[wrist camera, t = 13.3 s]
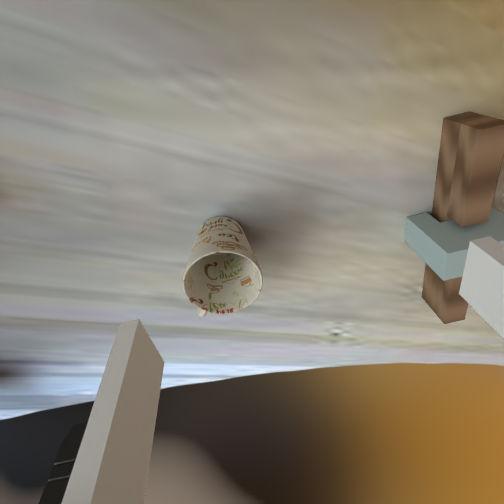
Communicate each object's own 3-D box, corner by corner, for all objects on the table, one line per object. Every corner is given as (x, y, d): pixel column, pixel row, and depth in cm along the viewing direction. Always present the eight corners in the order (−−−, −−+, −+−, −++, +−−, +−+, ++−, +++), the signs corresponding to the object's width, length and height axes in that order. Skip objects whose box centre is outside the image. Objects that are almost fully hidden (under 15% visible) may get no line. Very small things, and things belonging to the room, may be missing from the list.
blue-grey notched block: (406, 217, 43) (448, 253, 35) (480, 199, 43) (537, 232, 35) (404, 241, 45) (443, 280, 38) (474, 224, 45) (527, 261, 37)
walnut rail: (443, 118, 36) (480, 129, 31) (469, 111, 36) (511, 122, 31) (421, 297, 52) (444, 324, 47) (440, 292, 52) (464, 319, 47)
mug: (261, 217, 41) (275, 262, 32) (230, 290, 47) (235, 344, 38) (198, 199, 38) (194, 242, 30) (174, 278, 44) (165, 332, 36)
